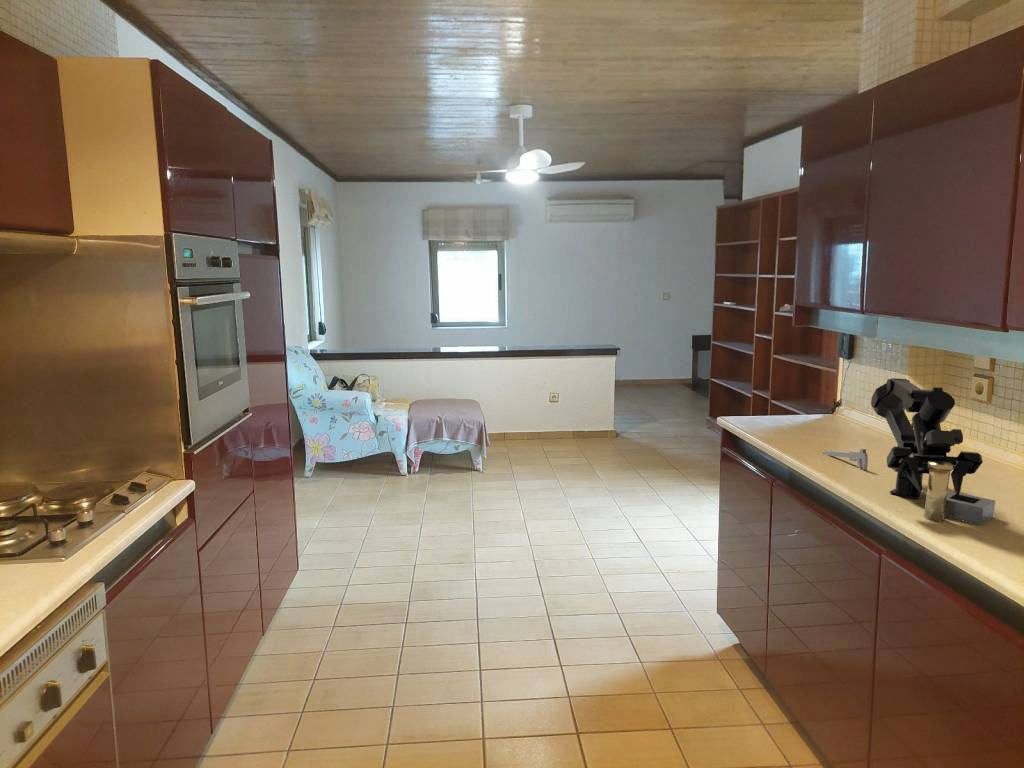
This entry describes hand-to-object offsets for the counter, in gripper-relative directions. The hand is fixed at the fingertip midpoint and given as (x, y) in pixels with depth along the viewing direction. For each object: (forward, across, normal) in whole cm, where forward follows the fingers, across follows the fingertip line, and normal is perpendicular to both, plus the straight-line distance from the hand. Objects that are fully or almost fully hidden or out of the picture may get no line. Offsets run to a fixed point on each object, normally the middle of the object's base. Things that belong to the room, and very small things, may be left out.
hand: (939, 492), depth 163 cm
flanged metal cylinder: (+4, 0, +6) cm, 7 cm away
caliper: (-31, -9, +41) cm, 52 cm away
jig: (0, +8, +9) cm, 12 cm away
